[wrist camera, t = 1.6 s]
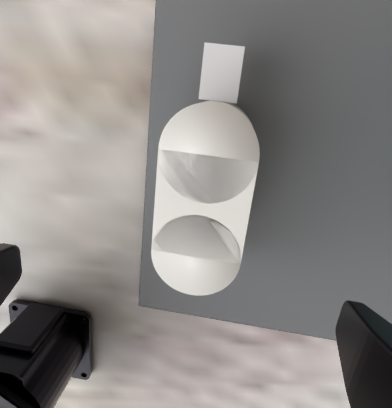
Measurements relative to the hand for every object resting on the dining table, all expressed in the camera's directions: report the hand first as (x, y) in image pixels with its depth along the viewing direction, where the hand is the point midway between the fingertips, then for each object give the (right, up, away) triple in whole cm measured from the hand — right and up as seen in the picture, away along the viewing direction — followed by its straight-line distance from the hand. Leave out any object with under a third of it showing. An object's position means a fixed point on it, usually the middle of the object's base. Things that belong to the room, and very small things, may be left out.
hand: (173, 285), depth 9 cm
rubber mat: (+8, +5, +10) cm, 13 cm away
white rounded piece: (+2, +5, +10) cm, 11 cm away
